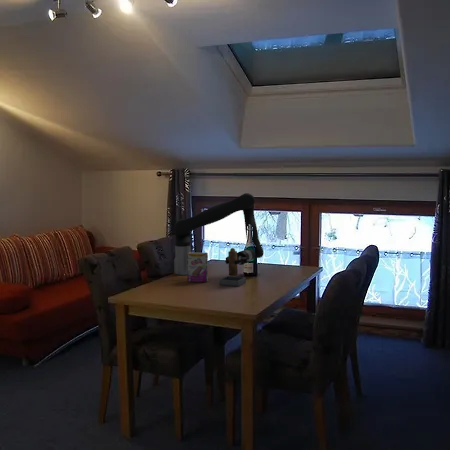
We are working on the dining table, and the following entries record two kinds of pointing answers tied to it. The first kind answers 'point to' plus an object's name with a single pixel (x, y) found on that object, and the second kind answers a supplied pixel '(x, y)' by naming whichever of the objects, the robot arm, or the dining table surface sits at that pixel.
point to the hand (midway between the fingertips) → (230, 262)
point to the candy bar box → (197, 267)
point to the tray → (232, 281)
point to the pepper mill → (232, 262)
